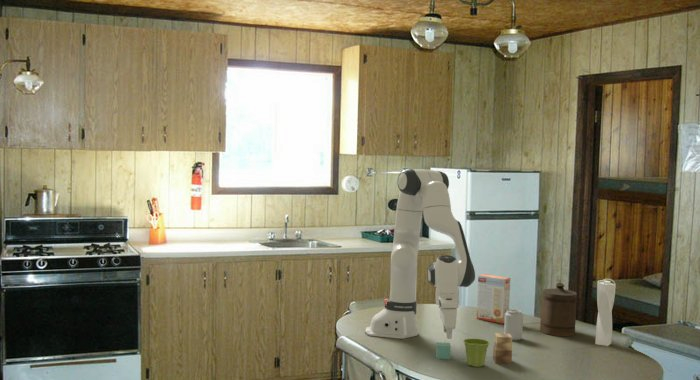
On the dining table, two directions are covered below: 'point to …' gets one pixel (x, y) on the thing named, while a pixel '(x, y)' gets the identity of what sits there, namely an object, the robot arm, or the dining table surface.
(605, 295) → the skyscraper
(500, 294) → the cracker box
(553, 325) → the wooden container
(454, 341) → the dining table surface
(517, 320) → the can
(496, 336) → the oak middle block
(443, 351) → the teal block
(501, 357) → the walnut base block
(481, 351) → the plant pot
